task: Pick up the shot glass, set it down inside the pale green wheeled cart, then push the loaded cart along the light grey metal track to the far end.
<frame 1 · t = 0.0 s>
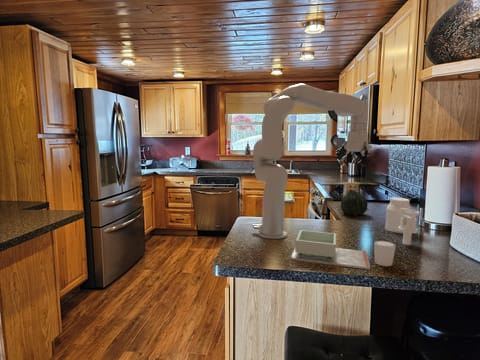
hand: (356, 163, 152), 31 cm above the kitchen counter, tool pointing down, fingers open, 9 cm apart
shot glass: (383, 263, 109), on the kitchen counter
jar: (397, 230, 151), on the kitchen counter
squash: (353, 214, 181), on the kitchen counter
candy box: (350, 206, 205), on the kitchen counter
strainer: (406, 244, 130), on the kitchen counter
track: (329, 256, 115), on the kitchen counter
cart: (316, 244, 116), point 4 cm above the kitchen counter, slide at 0.0 cm
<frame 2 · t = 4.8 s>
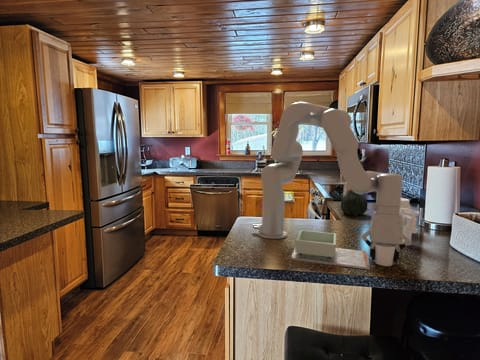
hand: (383, 259, 109), 1 cm above the kitchen counter, tool pointing down, fingers closed on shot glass, 6 cm apart
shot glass: (383, 263, 109), on the kitchen counter, touching gripper
everything else where it was.
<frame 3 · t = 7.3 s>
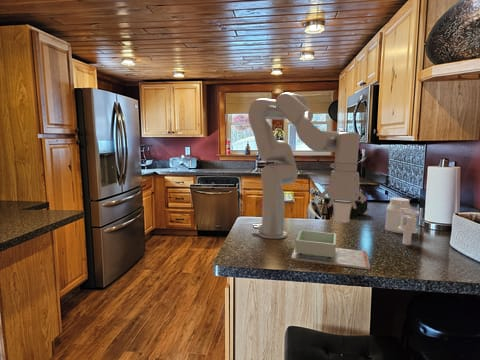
hand: (341, 217, 112), 15 cm above the kitchen counter, tool pointing down, fingers closed on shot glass, 6 cm apart
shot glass: (340, 220, 112), point 14 cm above the kitchen counter, touching gripper
everything else where it was.
when the fingers open (6 cm above the kitchen counter, at t = 10.3 s): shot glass drops 1 cm, resting on cart.
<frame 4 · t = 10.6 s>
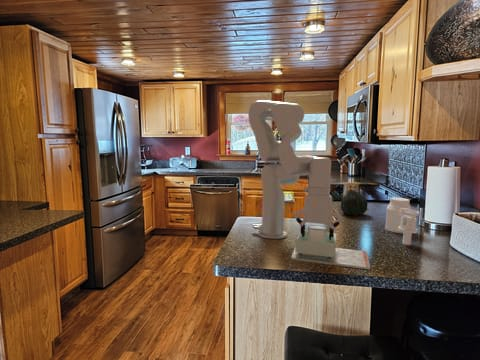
hand: (316, 237, 115), 7 cm above the kitchen counter, tool pointing down, fingers open, 9 cm apart
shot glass: (316, 246, 116), point 3 cm above the kitchen counter, touching cart
cart: (316, 244, 116), point 4 cm above the kitchen counter, slide at 0.0 cm, touching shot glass
everything else where it was.
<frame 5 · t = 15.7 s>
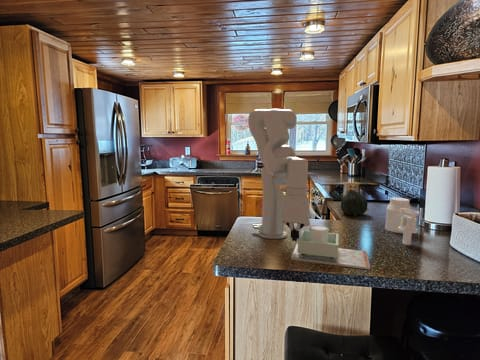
hand: (294, 240, 118), 5 cm above the kitchen counter, tool pointing down, fingers closed
cart: (318, 244, 115), point 4 cm above the kitchen counter, slide at 0.8 cm, touching gripper, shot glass
everything else where it was.
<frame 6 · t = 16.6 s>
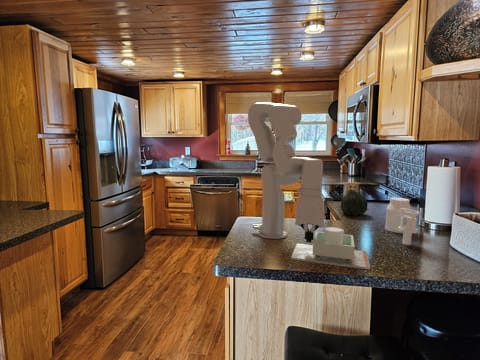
hand: (309, 241, 116), 5 cm above the kitchen counter, tool pointing down, fingers closed
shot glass: (333, 248, 114), point 3 cm above the kitchen counter, touching cart
cart: (333, 246, 114), point 4 cm above the kitchen counter, slide at 6.1 cm, touching gripper, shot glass
everything else where it was.
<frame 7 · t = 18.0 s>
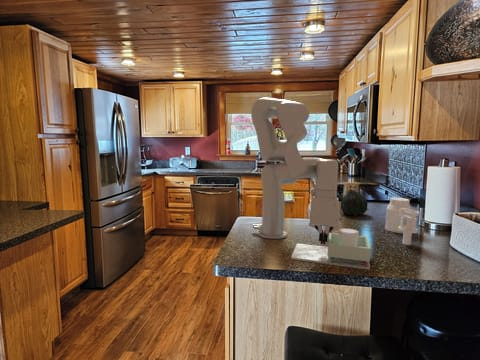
hand: (323, 243, 115), 5 cm above the kitchen counter, tool pointing down, fingers closed
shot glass: (347, 250, 113), point 3 cm above the kitchen counter, touching cart
cart: (348, 247, 112), point 4 cm above the kitchen counter, slide at 11.1 cm, touching gripper, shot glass
everything else where it was.
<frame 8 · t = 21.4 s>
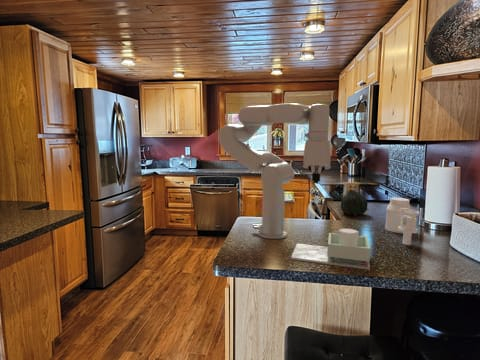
hand: (315, 183, 125), 25 cm above the kitchen counter, tool pointing down, fingers closed
cart: (347, 247, 112), point 4 cm above the kitchen counter, slide at 11.0 cm, touching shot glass
everything else where it was.
at the end: cart slide at 11.0 cm; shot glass inside the target area on the cart (0.1 cm from its centre), point 0.8 cm above the cart's base; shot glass tilted 0° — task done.
